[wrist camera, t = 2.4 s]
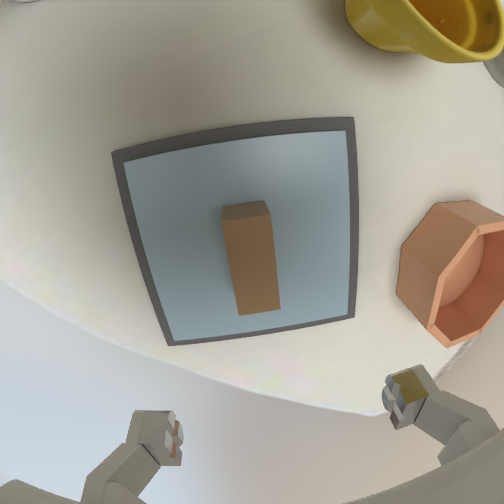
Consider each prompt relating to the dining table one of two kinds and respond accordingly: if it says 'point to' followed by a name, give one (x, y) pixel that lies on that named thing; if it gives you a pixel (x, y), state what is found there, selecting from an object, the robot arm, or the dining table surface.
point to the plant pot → (431, 27)
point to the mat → (232, 135)
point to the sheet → (201, 237)
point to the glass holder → (496, 68)
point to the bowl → (454, 270)
